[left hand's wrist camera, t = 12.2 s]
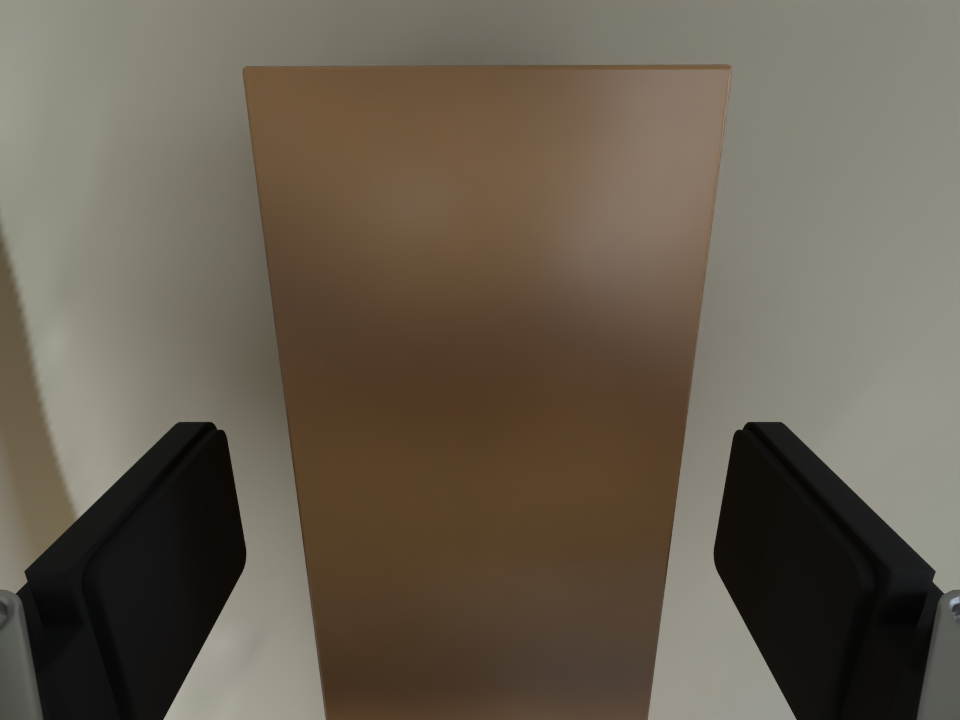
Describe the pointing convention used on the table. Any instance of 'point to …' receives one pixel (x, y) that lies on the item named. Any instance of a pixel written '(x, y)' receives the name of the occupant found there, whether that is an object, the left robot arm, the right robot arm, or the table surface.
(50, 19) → the table surface
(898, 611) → the left robot arm
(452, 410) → the bar
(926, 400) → the table surface
